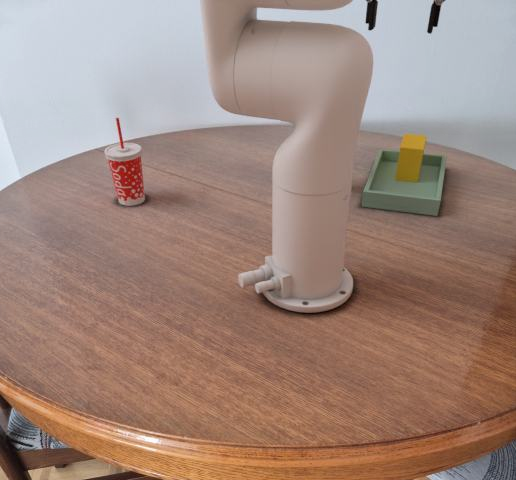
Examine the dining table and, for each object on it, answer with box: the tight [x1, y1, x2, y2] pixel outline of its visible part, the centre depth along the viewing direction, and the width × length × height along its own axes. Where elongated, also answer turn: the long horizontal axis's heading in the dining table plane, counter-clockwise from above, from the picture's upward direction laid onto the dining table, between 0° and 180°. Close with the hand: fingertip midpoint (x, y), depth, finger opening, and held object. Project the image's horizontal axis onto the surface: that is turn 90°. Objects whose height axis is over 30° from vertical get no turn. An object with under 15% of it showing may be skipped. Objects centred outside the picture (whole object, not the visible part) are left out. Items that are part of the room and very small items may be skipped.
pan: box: [361, 148, 448, 217], centre depth 97 cm, size 20×13×3 cm, turn 163°
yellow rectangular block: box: [395, 133, 428, 182], centre depth 99 cm, size 7×4×6 cm, turn 162°
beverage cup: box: [104, 117, 146, 207], centre depth 91 cm, size 6×6×14 cm
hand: (400, 30), depth 91 cm, fingers open, 9 cm apart
